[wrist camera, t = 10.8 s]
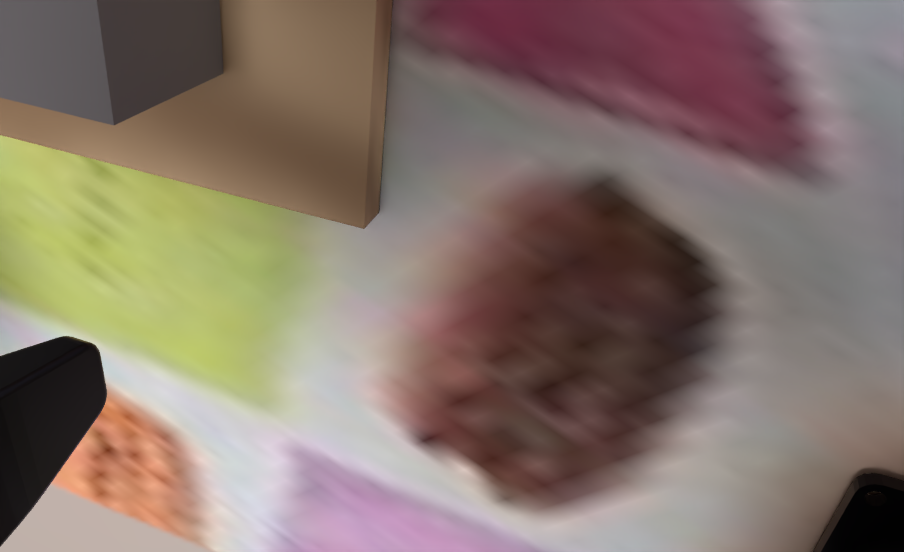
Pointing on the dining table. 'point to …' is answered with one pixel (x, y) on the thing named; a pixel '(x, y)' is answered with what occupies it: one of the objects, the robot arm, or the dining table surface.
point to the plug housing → (106, 53)
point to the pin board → (260, 112)
